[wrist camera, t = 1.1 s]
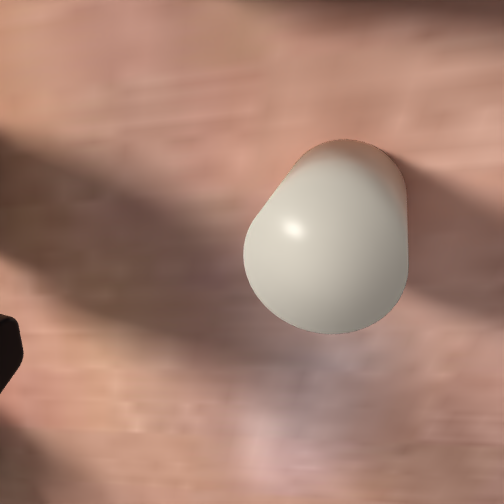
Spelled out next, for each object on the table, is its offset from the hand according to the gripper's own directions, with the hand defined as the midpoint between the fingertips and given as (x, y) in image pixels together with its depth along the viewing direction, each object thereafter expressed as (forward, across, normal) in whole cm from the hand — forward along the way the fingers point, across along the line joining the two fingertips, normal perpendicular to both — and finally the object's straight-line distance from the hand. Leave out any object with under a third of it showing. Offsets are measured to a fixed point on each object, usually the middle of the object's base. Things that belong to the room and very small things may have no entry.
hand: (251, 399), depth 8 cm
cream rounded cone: (+13, 0, +1) cm, 13 cm away
